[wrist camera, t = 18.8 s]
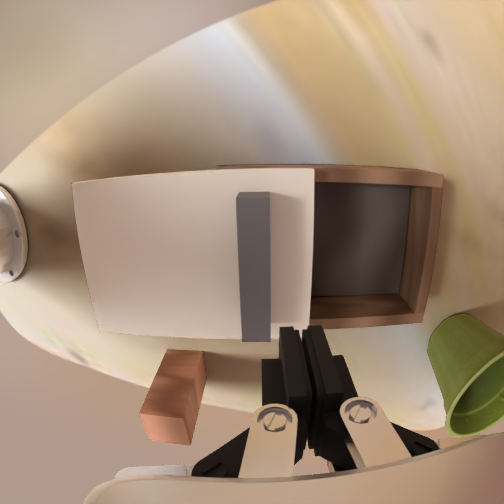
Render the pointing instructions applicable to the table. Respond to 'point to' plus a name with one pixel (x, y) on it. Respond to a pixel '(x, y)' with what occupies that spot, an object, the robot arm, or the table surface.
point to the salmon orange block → (175, 397)
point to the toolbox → (370, 243)
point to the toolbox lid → (199, 252)
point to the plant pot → (468, 374)
